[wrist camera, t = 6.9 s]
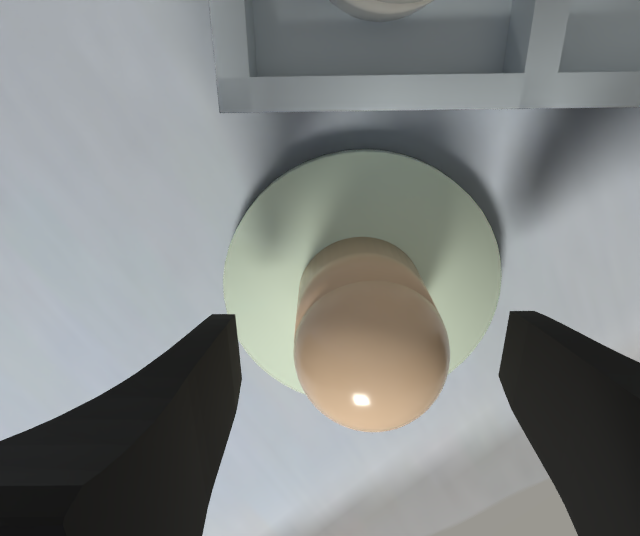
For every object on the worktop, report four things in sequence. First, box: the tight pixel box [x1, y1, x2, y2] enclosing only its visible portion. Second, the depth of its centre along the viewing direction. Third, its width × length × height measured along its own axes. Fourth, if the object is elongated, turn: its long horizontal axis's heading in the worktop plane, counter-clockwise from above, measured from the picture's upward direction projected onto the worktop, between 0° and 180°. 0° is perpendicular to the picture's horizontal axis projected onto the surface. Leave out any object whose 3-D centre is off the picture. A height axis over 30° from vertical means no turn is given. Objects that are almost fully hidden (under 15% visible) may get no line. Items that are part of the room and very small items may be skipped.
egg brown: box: [293, 237, 450, 432], centre depth 12 cm, size 4×4×5 cm
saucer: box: [223, 149, 501, 395], centre depth 15 cm, size 9×9×1 cm
